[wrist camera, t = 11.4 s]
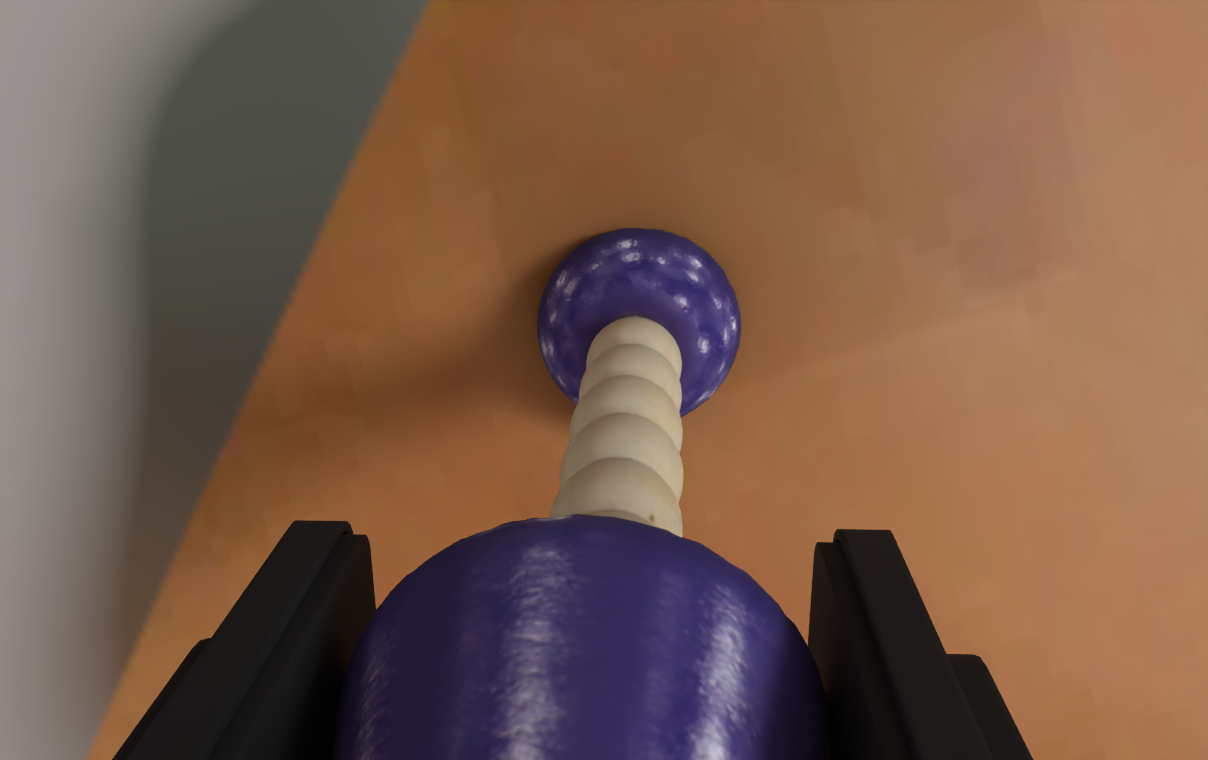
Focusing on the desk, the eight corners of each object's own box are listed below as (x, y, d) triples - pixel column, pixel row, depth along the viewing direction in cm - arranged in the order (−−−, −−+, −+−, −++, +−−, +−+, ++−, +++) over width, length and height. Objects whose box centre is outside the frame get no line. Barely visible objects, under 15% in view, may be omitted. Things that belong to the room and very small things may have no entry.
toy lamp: (663, 471, 23) (689, 1443, 8) (474, 374, 23) (76, 1208, 7) (778, 287, 22) (1107, 1023, 6) (579, 177, 21) (367, 678, 5)
